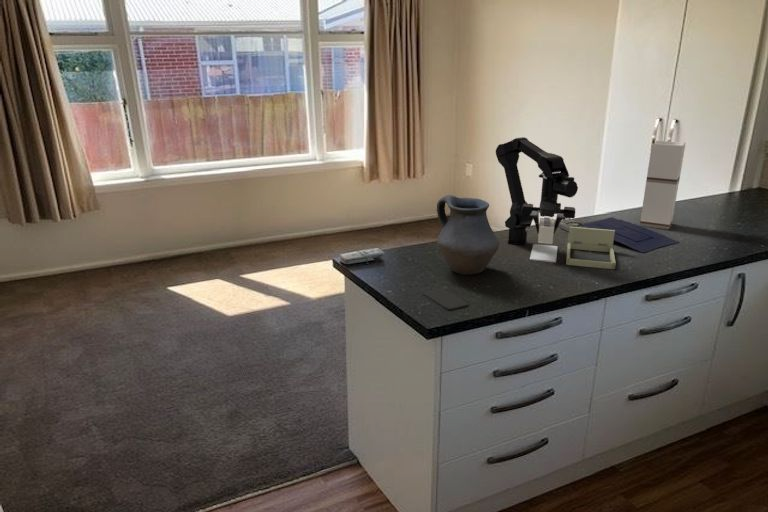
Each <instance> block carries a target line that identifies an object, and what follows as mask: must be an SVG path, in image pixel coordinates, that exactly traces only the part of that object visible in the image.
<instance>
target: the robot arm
mask: <svg viewBox="0 0 768 512" xmlns="http://www.w3.org/2000/svg"><path fill="white" fill-rule="evenodd" d="M520 153H523V154H524V155H525V156H527V157H528V158H530V159H532V161H534V162H535V163H536V164H537V167H538V169H539V170H541V173H540V174H539V175H538V177H539V178H541V179H542V184H541V192H540V193H541V194H540V203H539V207H537V206H534V204H533V203H528V202H527V200H526V199H525V194H524V190H523V185H522V181H521V176H520V173H519V168H518V162H519V158H520ZM495 156H496V159H497V162H498V163H499V164H500V166H502V167H503V169H504V174H505V178H506V184H507V187H508V191H509V196H510V201H511V207H510V209H509V217H508V218H507V219H506V220H505V221H504V224H505V225H504V226H505V228H507V229H508V237H507V238H508V241H507V244H509V245H510V244H511V245H521V246H524V245H525V244H526V243H527V242H528V232H529V231H528V230H527V228H530V227H531V225H532V224H533V222H534V224H535V229H536V232H537V234H538V233H539V222H540V217H541V218H544V217H547V218H554V217H555V215H556V218H555V219H556V221H554V223H555V225H554V234H553V236H554V235H555V234H556V232H557V229H558V228H557V227H559V226H558V225H559V223H560V222H561V220H562V221H563V220H565V218H566V219H567V218H568V219H569V218H571V219H575V218H576V208H575V207H573V206H564V207H563V208H562V203H561V202H558V199H559V198H558V196H562V197H565V198H569V199H571V198H573V197H575V196H576V194H577V192H578V188H579V187H578V184H577V181H575V177H574V176H570V174H569V171H568V169H567V166H566V163H565V161H564V158H563V157H562V156H561V155H559V154H555V153H552V152H547V151H545V150H544V149H542V148H541V147H539V146H538V145H536V144H534V143H533V142H532V141H530V140H529V139H528V138H527V137H524V136H523V137H515V138H513V139H511V140H510V141H508V142H504V143H500V144H498V145H497V147H496V149H495Z"/></svg>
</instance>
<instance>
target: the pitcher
mask: <svg viewBox="0 0 768 512" xmlns="http://www.w3.org/2000/svg"><path fill="white" fill-rule="evenodd" d="M446 205H447V206H448V208H449V210H450V211H449V213H450V214H449V217H448V218H447V213H446ZM489 207H490V203H489V202H487V201H486V200H483V199H480V198H474V197H457V196H455V195H452V194H448V195H447V194H446V195H444V196H443V197H441V198H439V200H438V201H437V203H436V213H437V218H438V221H439V223H440V227H441V230H440V233H439V234H438V237H437V240H436V242H437V243H436V244H437V248H438V250H439V251H440V252H441V254H442V255H443V257H444V259H445V262H446V264H447V265H448V267H449V268H450V270H451V271H452V272H453V273H455V274H459V275H464V276H475V275H478V274H480V273H482V272H483V271H484V270H485V269H486V267H487V266H488V265H489V263H490V262H491V260H492V259H493V257H494V256H495V254H496V253H497V251H498V249H499V246H500V241H499V239H498V237H497V235H496V233H495V232H494V230H493V229H492V227H491V225H490V223H489V220H488V215H487V211H488V209H489Z"/></svg>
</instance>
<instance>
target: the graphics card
mask: <svg viewBox="0 0 768 512" xmlns="http://www.w3.org/2000/svg"><path fill="white" fill-rule="evenodd" d="M555 221H556V218H555V219H554V225H555ZM581 224H584V223H583V222H580V221H577V220H574V219H573V218H565V220H561V222H560V223H559V225H558V228H557V229H561V230H565V231H566V232H569V227H581V228H586V227H585V226H583V225H581Z"/></svg>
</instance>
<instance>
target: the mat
mask: <svg viewBox="0 0 768 512" xmlns="http://www.w3.org/2000/svg"><path fill="white" fill-rule="evenodd" d="M558 247H559V246H557V245H550V244H539V243H538V244H537V243H533V244H532V249H531V252H530V257H529V260H530V261H534V262H535V261H536V262H546V263H556V262H557V256H558Z"/></svg>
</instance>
